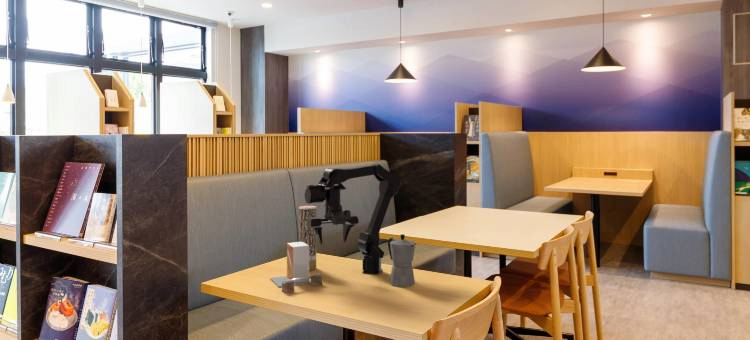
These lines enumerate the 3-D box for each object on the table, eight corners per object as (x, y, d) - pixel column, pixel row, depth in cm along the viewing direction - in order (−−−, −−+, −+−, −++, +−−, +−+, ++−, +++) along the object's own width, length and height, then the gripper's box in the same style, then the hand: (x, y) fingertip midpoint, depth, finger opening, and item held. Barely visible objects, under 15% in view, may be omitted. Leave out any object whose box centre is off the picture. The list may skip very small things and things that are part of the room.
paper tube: (297, 267, 217) (296, 206, 215) (313, 266, 220) (312, 205, 218) (302, 271, 211) (301, 208, 209) (318, 270, 214) (318, 207, 212)
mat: (301, 275, 206) (301, 274, 206) (311, 283, 195) (311, 282, 195) (270, 278, 201) (270, 277, 201) (278, 287, 190) (278, 286, 190)
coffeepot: (423, 285, 192) (424, 235, 191) (402, 290, 187) (402, 238, 186) (398, 276, 205) (398, 229, 204) (377, 279, 200) (378, 231, 199)
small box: (286, 277, 202) (286, 242, 201) (303, 275, 204) (302, 241, 203) (293, 282, 194) (292, 246, 193) (309, 280, 197) (309, 245, 196)
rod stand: (317, 283, 195) (317, 273, 195) (322, 284, 193) (322, 275, 193) (282, 291, 185) (281, 281, 185) (286, 293, 183) (286, 283, 183)
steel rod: (320, 275, 195) (320, 272, 195) (321, 275, 194) (321, 273, 194) (282, 283, 184) (282, 281, 184) (283, 284, 183) (283, 281, 183)
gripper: (315, 206, 190) (315, 249, 191) (364, 203, 197) (364, 245, 199) (306, 202, 200) (306, 243, 201) (353, 199, 208) (353, 239, 209)
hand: (332, 243), depth 202 cm, fingers open, 9 cm apart
